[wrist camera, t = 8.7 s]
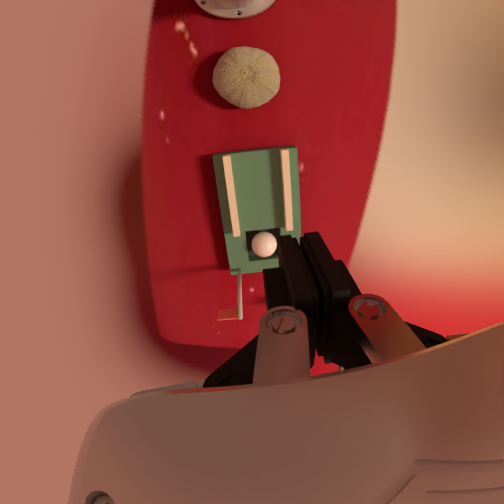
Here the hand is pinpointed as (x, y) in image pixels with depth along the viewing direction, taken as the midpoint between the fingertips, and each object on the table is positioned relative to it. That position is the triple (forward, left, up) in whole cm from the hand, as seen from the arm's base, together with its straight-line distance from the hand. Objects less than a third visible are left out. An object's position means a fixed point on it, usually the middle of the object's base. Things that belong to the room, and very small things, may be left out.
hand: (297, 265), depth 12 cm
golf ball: (+15, 0, -30) cm, 33 cm away
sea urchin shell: (-11, 0, -32) cm, 34 cm away
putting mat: (+10, 0, -32) cm, 34 cm away
